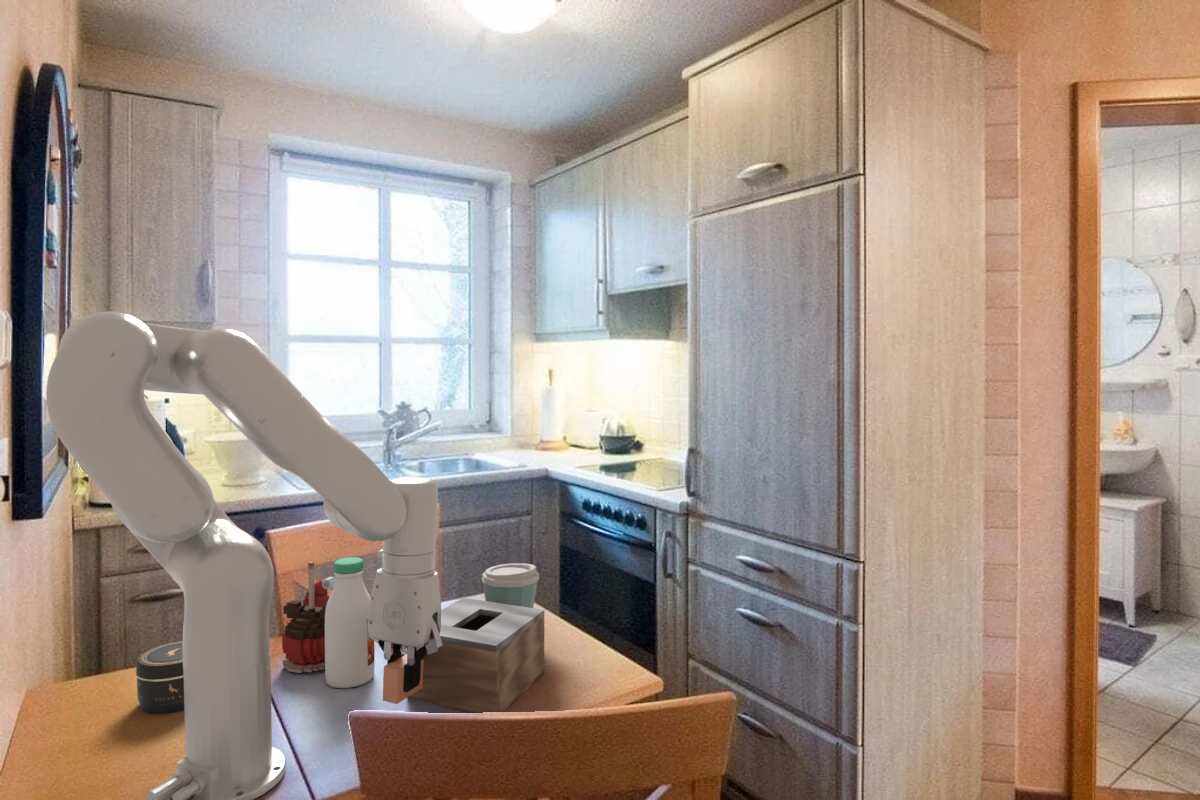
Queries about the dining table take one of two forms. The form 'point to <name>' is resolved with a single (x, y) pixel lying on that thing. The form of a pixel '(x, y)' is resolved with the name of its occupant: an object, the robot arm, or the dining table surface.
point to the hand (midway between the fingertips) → (403, 685)
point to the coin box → (483, 656)
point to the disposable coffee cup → (511, 584)
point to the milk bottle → (348, 628)
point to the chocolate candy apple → (307, 627)
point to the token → (397, 681)
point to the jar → (161, 679)
